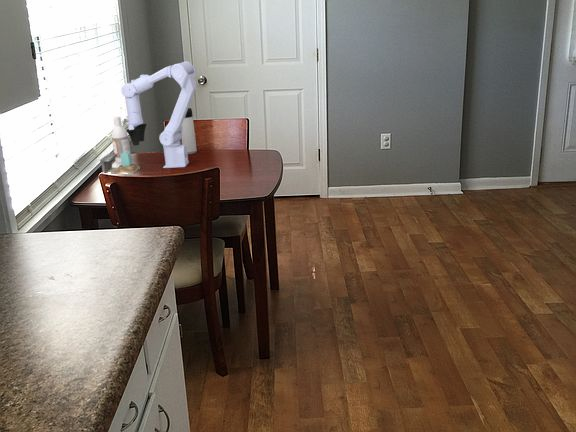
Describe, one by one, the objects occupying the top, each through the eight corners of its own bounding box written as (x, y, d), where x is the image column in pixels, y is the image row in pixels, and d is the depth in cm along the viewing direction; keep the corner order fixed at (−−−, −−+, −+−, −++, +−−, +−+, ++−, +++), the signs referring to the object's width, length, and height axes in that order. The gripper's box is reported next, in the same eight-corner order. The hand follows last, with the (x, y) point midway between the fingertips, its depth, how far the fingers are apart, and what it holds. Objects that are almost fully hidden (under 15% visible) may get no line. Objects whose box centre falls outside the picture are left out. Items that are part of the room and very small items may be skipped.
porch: (140, 168, 275) (137, 152, 273) (133, 174, 266) (130, 158, 264) (110, 170, 276) (107, 154, 274) (102, 176, 267) (99, 159, 265)
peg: (132, 168, 272) (130, 152, 270) (130, 170, 269) (127, 154, 267) (125, 168, 272) (122, 152, 270) (122, 170, 269) (120, 154, 267)
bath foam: (113, 161, 291) (106, 117, 284) (128, 159, 294) (122, 115, 288) (118, 164, 285) (111, 119, 279) (133, 161, 288) (127, 117, 282)
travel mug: (200, 151, 298) (195, 108, 292) (191, 154, 293) (185, 110, 287) (189, 150, 302) (184, 107, 295) (180, 153, 297) (175, 110, 290)
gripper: (130, 109, 280) (134, 139, 284) (119, 115, 266) (124, 147, 270) (146, 108, 279) (150, 139, 283) (136, 114, 265) (141, 146, 270)
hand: (138, 143), depth 277 cm, fingers open, 7 cm apart
